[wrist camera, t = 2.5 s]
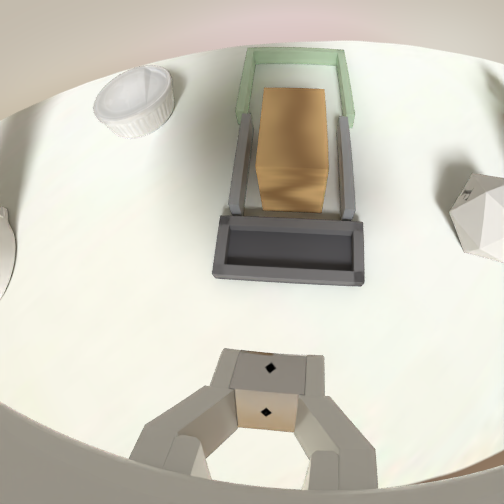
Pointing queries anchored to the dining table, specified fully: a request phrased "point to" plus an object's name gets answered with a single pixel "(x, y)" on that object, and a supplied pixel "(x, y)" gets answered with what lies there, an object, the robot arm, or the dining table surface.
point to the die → (481, 217)
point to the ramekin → (136, 101)
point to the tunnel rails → (243, 161)
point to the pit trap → (290, 250)
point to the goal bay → (295, 57)
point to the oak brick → (292, 150)
